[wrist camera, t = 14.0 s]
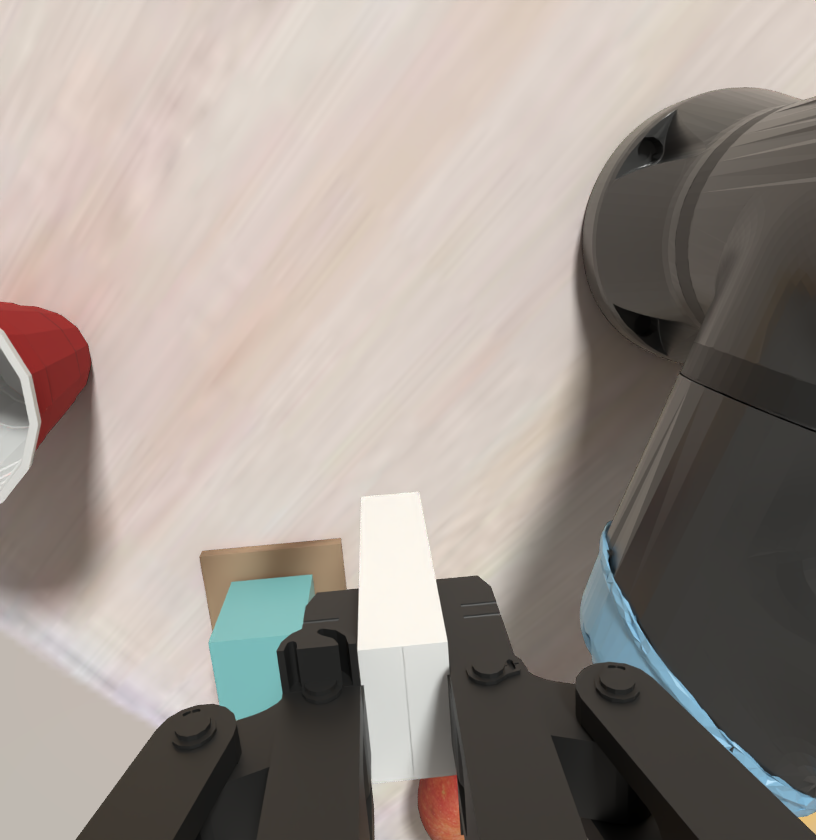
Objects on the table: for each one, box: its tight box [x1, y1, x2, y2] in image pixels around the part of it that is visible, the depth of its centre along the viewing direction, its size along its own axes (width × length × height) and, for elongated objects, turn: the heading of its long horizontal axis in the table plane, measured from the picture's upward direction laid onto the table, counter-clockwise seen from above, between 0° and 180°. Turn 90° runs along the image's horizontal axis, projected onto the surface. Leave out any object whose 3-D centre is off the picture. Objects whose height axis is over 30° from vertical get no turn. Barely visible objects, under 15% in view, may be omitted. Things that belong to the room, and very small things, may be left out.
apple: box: [418, 773, 465, 840], centre depth 46 cm, size 8×8×8 cm
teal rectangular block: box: [209, 574, 315, 720], centre depth 41 cm, size 5×5×7 cm
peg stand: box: [200, 538, 347, 630], centre depth 42 cm, size 9×9×7 cm
